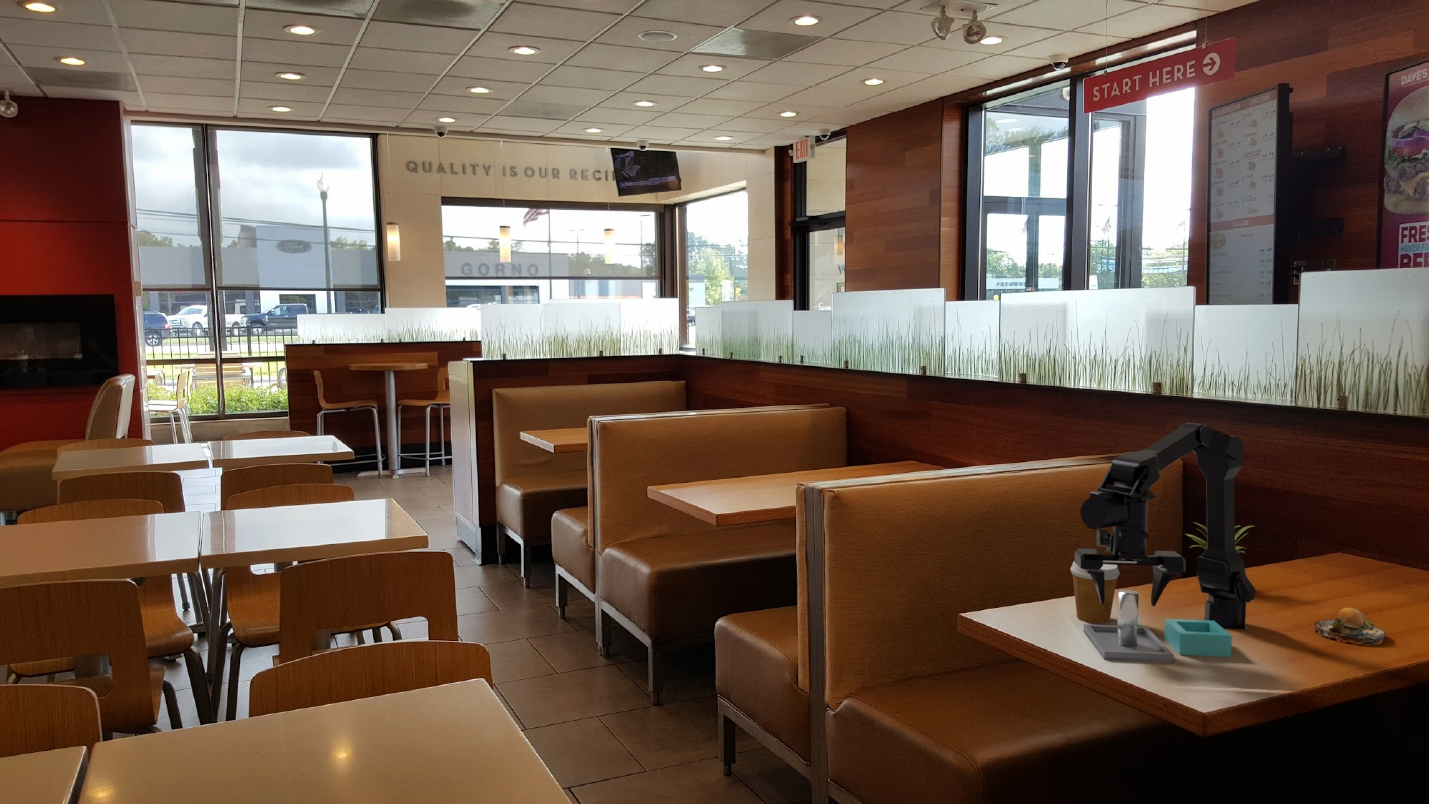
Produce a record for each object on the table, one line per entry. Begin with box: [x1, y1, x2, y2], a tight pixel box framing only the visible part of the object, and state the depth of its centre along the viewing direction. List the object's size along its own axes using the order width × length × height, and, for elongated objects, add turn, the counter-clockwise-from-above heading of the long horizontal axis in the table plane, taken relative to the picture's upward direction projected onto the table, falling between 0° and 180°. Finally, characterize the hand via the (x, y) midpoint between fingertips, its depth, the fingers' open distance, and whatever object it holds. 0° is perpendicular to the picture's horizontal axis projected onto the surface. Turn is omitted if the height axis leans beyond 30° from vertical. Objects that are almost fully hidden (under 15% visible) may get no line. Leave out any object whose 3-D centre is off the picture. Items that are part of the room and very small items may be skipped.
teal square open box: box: [1163, 618, 1233, 658], centre depth 184 cm, size 9×9×4 cm
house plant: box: [1185, 521, 1254, 555], centre depth 226 cm, size 14×14×16 cm
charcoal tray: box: [1083, 623, 1175, 664], centre depth 185 cm, size 12×16×2 cm
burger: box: [1314, 603, 1387, 645], centre depth 192 cm, size 12×12×8 cm
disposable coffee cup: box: [1070, 561, 1120, 625], centre depth 201 cm, size 10×10×12 cm
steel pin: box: [1116, 589, 1140, 647], centre depth 184 cm, size 4×4×10 cm
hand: (1127, 604), depth 184 cm, fingers open, 9 cm apart
